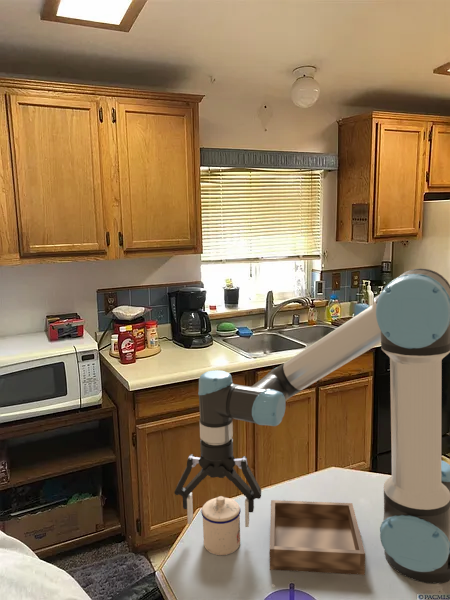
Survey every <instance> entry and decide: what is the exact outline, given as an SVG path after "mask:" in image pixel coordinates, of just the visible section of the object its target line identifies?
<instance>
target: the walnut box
mask: <svg viewBox="0 0 450 600" xmlns="http://www.w3.org/2000/svg"><path fill="white" fill-rule="evenodd" d="M269 527H270V528H269V530H270V531H269V570H270V571H283V572H284V571H285V572H286V571H287V572H288V571H289V572H303V573H304V572H305V573H320V574H323V573H324V574H340V575H359V576H365V574H366V573H365V572H366V551H365V548H364V544H363V540H362V536H361V532H360V529H359V524H358V519H357V516H356V512H355V507H354V505H353V503H352V502H332V501H331V502H329V501H325V502H324V501H307V500H305V501H303V500H302V501H301V500H281V499H280V500H279V499H275V500H274V499H271V500H270V526H269Z"/></svg>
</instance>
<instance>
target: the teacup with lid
mask: <svg viewBox="0 0 450 600" xmlns="http://www.w3.org/2000/svg"><path fill="white" fill-rule="evenodd" d="M241 513H242V512H241V507H240V504H239V503H238V502H237V501H236V500H234V499H233V498H229V497H225V496H222V495H220V496H217V497H215V498H211V499H209V500H207V501H206V502H205V503H204V504H203V505H202V509H201V515H202V516H201V517H202V531H203V546H204V547H205V549H206V550H207V551H208V552H209V553H210V554H213V555H217V556H227V555H230V554H232V553H234V552H235V551H237V550H238V549H239V547H240V545H241V522H240V521H241V518H240V517H241V516H240V514H241Z"/></svg>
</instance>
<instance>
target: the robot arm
mask: <svg viewBox="0 0 450 600" xmlns="http://www.w3.org/2000/svg"><path fill="white" fill-rule="evenodd" d="M377 345H380V347H381V348H380V349H381V350H382V352H383V353H385V354H386V356H388V357H389V364H390V365H389V369H390V370H389V371H390V372H389V373H390V376H389V377H390V382H389V383H390V385H389V386H390V432H391V434H390V436H391V438H390V439H391V444H390V445H391V448H390V449H391V476H389V478H387V479H386V480H385V481H384V484H383V521H382V522H381V524H380V527H379V532H380V533H379V537H380V542H381V546H382V548H383V550H384V557H385V559H386V560H387V562H388V563H389V565H390V566H391V567H392V568H393V569H394V570H395V571H396V572H398V573H399V574H401V575H403V576H404V577H406V578H409V579H411V580H413V581H416V582H421V583H426V584H442V583H446V582H449V581H450V463H448V462H446V461H444V460H442V398H443V397H442V392H443V391H442V388H443V387H442V380H443V379H442V377H443V376H442V370H443V369H442V365H443V364H442V363H443V362H442V360H443V359H444V358H445V357H447V356H448V355H449V354H450V283H449V281H448V280H447V279H446V278H445V277H444V276H443V275H441V274H440V273H439V272H437V271H434V270H432V269H429V268H413V269H410V270H407V271H405V272H403V273H401V274H400V275H398V276H397V277H395V278H394V279H393V280H392V279H391V281H390V282H389V283H387V285H385V286H384V288H383V289H382V291H380V293H379V294H378V295H377V296H374V298H373V303H372V305H369V307H367V308H366V309H364V310H362V311H361V312H359V313H358V314H356V315H355V316H353V317H352V318H351V319H349V320H347V321H346V322H343V324H341V325H340V326H338V327H336V328H335V329H334V330H332V331H331V332H329V333H328V334H326V335H324V336H323V337H321V338H320V339H318V340H317V341H315V342H314V343H313V344H311V345H309V346H307V347H306V348H304V349H303V350H302V351H300V352H299V353H297V354H295V355H294V356H293V357H291V358H289V359H288V360H286V361H285V362H284V363H282V364H280V365H279V366H277V367H275V368H273V369H271V370H270V371H268V373H267V374H266V375H265V376H263V377H262V378H261V379H259V380H258V381H256V382H255V383H254V384H253V385H251V386H248V385H242V384H236V383H234V382H233V377H232V375H231V373H230V372H227V371H225V370H222V369H221V370H219V369H218V370H217V369H216V370H214V369H213V370H208V371H205V372H204V373H202V374H201V375H200V376H199V378H198V392H197V393H198V394H197V395H198V402H199V403H198V404H199V408H198V409H199V438H200V440H199V442H200V457H198V456H195V455H194V454H193V453H191V454H189V455H188V458H187V460H186V467H185V469H184V471H183V473H182V475H181V476H180V479H179V480H178V483H177V485H176V487H175V490H174V492H173V493H174V495H176V496H178V495H179V496H181V498H182V508H183V510H186V512H187V513H186V515H187V525H192V522H193V518H194V510H193V509H194V506H193V505H194V504H193V490H195V489H196V488H197V486H198V485H199V484H200V483H201V482H202V481H203V480H204V479H206V478H207V476H208V477H210V478H213V479H214V478H220V479H224V478H225V477H226V478H227V479H228V480H229V482H230V481H231V482H232V483H233V485H234V486H235V487H236V488H237V489H238V490H239V491H240V493H241V494H242V495H243V496H244V498H245V500H244V512H245V513H244V519H245V521H244V523H245V525H244V526H245V528H249V526H250V513H254V509H255V499H257V500H261V498H262V488H261V487H260V485H259V483H258V481H257V479H256V477H255V475H254V474H253V472H252V470H251V468H250V466H249V465H248V458H247V456H245V455H242V457H240V458H235V456H234V439H233V435H234V429H233V428H234V425H233V423H234V422H233V420H239V421H243V422H247V423H251V424H252V423H253V424H256V425H259V426H269V427H277V426H279V425H280V424H281V423H282V421H283V418H284V417H285V414H286V413H285V412H286V402H287V401H288V400H289V399H290V398H292V397H293V396H295V395H297V394H298V393H300V392H301V391H303V390H304V389H307V388H308V387H310V386H311V385H313V384H314V383H316V382H318V381H320V380H322V379H323V378H325V377H327V375H330V374H331V373H333V372H334V371H336V370H339V369H340V368H341V367H344V365H346V364H348V363H349V362H351V361H352V360H354V359H356V358H358V357H360V356H361V355H363V354H365V353H366V352H368V351H369V350H371V349H373V348H375V347H376V346H377ZM197 464H199V466H200V467H201V469H200V471H199V472H198V473H197V474H196V475H195V476H194V477H193V478H192V479H191V481H189V483H188V484H187V485H186V486H184V485H185V483H186V481H187V479H188V477H189V475H190V474H191V471H192V468H195V467H196V466H197ZM235 466H237V467H238V468H239V469H240V470H241V473H242V474H243V476H244V478H245V480H246V481H244V479H243V478H242V477H241V475H239V474H238V473H237V471H236V469H235V468H234V467H235Z"/></svg>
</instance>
